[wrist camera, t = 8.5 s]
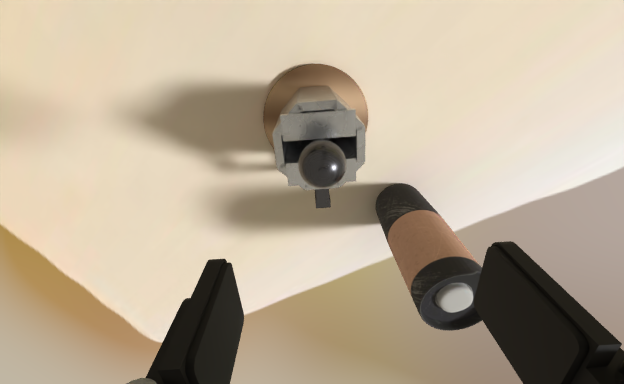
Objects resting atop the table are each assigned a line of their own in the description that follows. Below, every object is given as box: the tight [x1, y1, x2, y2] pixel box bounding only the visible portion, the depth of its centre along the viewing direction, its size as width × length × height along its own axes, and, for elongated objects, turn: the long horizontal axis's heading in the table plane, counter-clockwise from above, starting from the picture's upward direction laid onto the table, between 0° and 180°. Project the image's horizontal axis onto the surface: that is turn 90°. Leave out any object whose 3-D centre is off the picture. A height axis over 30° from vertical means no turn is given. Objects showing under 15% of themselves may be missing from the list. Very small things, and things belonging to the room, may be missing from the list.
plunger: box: [297, 109, 346, 189], centre depth 29 cm, size 6×6×15 cm
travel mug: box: [376, 184, 482, 330], centre depth 36 cm, size 8×8×20 cm
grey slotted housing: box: [272, 85, 365, 208], centre depth 34 cm, size 12×9×13 cm
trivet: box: [264, 64, 368, 148], centre depth 39 cm, size 14×14×1 cm
